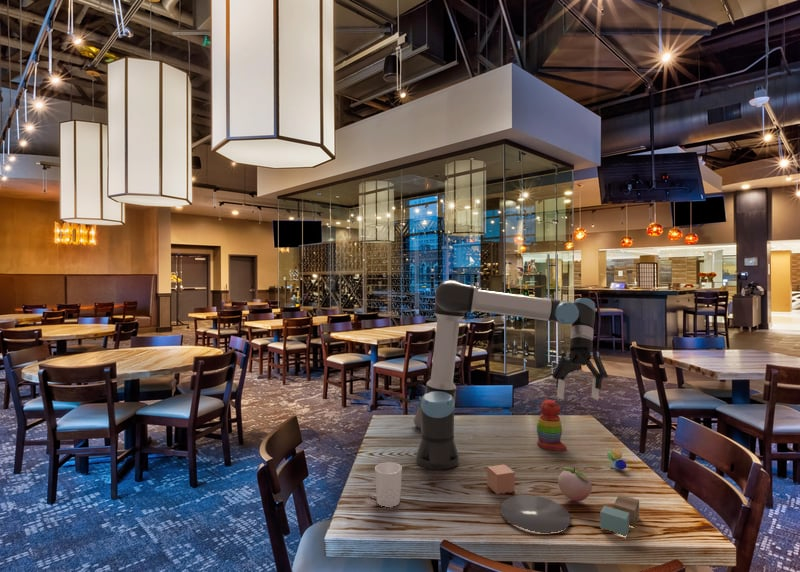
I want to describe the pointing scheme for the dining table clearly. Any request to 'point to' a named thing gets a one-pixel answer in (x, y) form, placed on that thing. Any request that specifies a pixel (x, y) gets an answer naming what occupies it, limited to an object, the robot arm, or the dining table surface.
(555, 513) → the slate plate
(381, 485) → the white cup
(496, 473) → the terracotta block
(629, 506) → the walnut block
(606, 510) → the teal block
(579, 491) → the decorative fruit
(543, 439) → the stacking bear
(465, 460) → the dining table surface
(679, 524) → the dining table surface
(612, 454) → the dice
